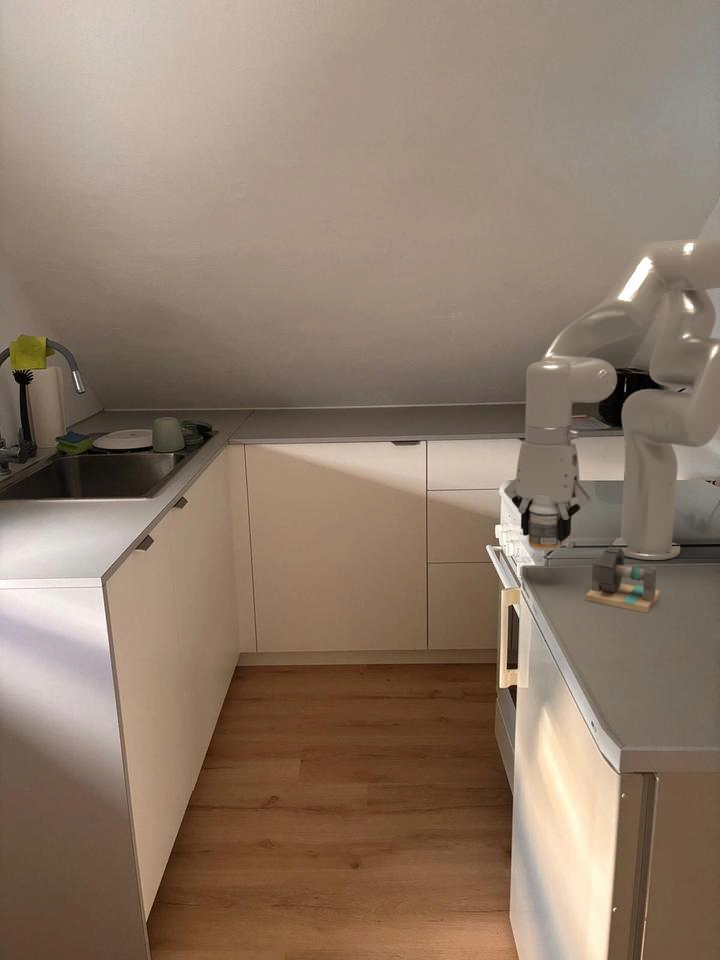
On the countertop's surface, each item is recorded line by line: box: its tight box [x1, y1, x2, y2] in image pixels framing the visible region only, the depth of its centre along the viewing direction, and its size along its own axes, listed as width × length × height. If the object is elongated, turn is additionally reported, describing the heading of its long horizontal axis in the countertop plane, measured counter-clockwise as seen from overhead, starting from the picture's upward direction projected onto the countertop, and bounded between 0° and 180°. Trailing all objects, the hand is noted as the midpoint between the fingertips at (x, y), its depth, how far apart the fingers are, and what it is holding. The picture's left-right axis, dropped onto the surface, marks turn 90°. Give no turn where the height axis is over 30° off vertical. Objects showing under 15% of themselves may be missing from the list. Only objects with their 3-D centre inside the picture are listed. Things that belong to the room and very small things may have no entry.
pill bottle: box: [528, 495, 563, 552], centre depth 134 cm, size 6×6×10 cm
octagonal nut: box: [599, 545, 625, 592], centre depth 129 cm, size 7×2×7 cm, turn 146°
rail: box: [584, 557, 661, 614], centre depth 129 cm, size 8×10×6 cm
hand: (545, 535), depth 135 cm, fingers closed on pill bottle, 5 cm apart
